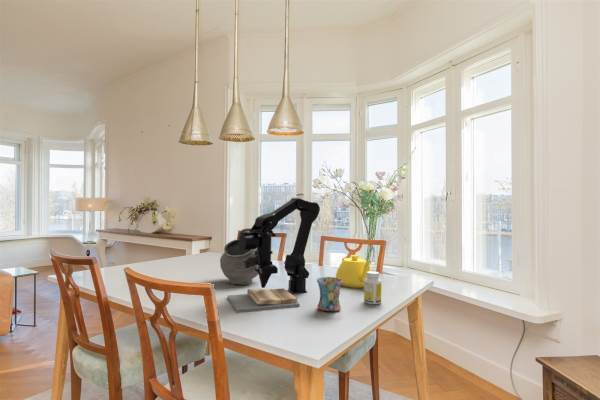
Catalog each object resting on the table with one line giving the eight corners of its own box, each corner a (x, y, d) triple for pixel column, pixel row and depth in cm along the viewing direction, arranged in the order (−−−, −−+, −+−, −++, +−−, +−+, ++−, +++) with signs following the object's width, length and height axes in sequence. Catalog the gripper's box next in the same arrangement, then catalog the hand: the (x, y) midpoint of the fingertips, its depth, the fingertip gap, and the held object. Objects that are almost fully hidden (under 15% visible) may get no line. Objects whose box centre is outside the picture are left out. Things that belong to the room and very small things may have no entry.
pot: (247, 275, 178) (248, 227, 179) (272, 282, 163) (273, 229, 164) (211, 281, 165) (212, 228, 165) (234, 289, 149) (236, 231, 150)
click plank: (268, 293, 141) (269, 289, 141) (281, 304, 126) (281, 299, 126) (247, 293, 137) (247, 289, 138) (257, 304, 123) (257, 299, 123)
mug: (312, 306, 127) (312, 277, 127) (334, 304, 130) (335, 276, 130) (326, 316, 116) (326, 285, 116) (350, 314, 119) (351, 283, 119)
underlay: (283, 293, 145) (283, 291, 145) (299, 306, 127) (299, 303, 127) (227, 297, 136) (227, 295, 136) (237, 312, 118) (237, 309, 118)
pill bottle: (381, 301, 136) (382, 271, 136) (380, 305, 130) (380, 274, 130) (365, 299, 138) (365, 270, 138) (362, 303, 132) (363, 273, 132)
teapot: (387, 289, 155) (387, 259, 155) (352, 292, 149) (352, 260, 149) (358, 277, 178) (358, 251, 178) (327, 280, 172) (327, 252, 172)
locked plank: (283, 292, 143) (283, 288, 143) (296, 302, 128) (297, 298, 128) (269, 293, 141) (270, 289, 141) (282, 304, 126) (282, 299, 126)
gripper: (239, 245, 143) (238, 283, 143) (249, 252, 125) (248, 295, 125) (265, 245, 147) (264, 282, 147) (278, 251, 129) (277, 293, 129)
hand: (263, 287), depth 137 cm, fingers closed
